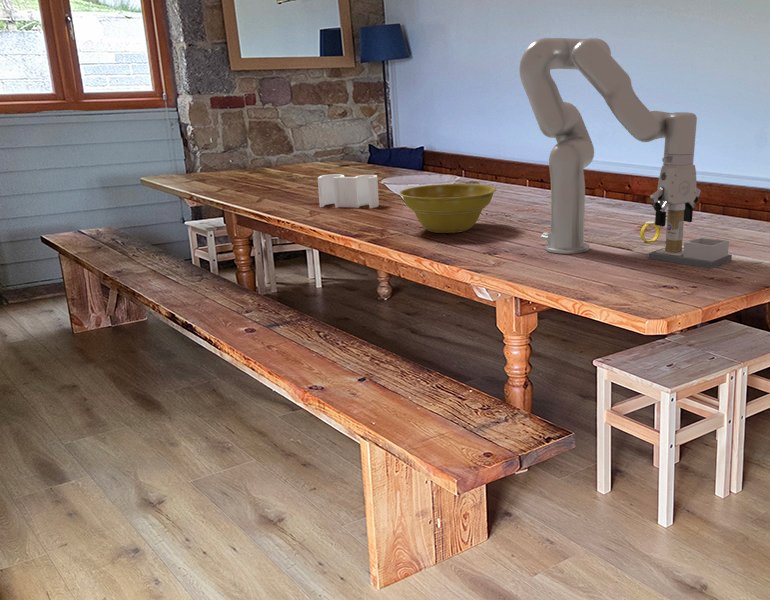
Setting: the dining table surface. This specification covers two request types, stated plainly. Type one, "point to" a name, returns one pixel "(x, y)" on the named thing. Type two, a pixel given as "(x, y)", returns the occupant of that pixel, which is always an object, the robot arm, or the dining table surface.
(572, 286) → the dining table surface
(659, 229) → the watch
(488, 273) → the dining table surface
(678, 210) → the sprinkles bottle
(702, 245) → the grey tray with box
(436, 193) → the planter bowl
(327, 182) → the bracket
